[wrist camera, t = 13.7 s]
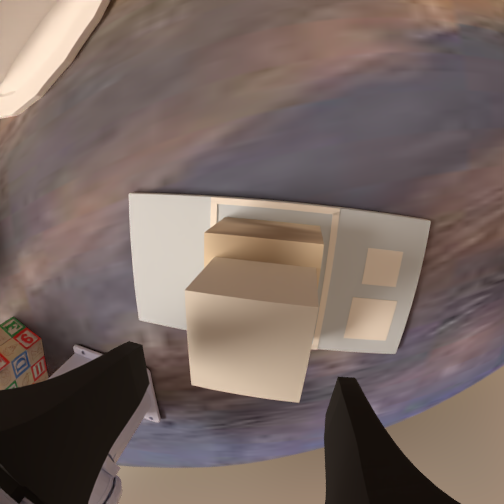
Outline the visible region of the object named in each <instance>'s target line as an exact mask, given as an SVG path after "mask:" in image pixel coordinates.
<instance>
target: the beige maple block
mask: <svg viewBox="0 0 504 504" xmlns="http://www.w3.org/2000/svg"><path fill="white" fill-rule="evenodd" d="M185 308H186V325H187V340H188V353H189V364H190V375H191V385H194V386H198V387H203V388H208V389H212V390H217V391H223V392H228V393H233V394H239V395H245V396H251V397H258V398H265V399H272V400H280V401H289V402H298V403H299V401H300V397H301V393H302V389H303V384H304V380H305V375H306V371H307V366H308V361H309V356H310V351H311V346H312V341H313V336H314V331H315V325H316V320H317V314H318V308H319V304H318V288H317V274H316V268H313V267H303V266H294V265H285V264H275V263H266V262H257V261H248V260H239V259H230V258H221V257H214V258H213V259H212V260H211V261H210V263H209V264H208V265H207V266H206V267H205V268H204V269H203V270H202V271H201V272H200V274H199V275H198V276H197V277H196V278H195V279H194V280H193V281H192V282H191V284H190V285H189V286H188V287H187V288H186V289H185Z"/></svg>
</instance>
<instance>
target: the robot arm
mask: <svg viewBox="0 0 504 504" xmlns="http://www.w3.org/2000/svg"><path fill="white" fill-rule="evenodd" d="M73 349H74V352H75V354H74V355H73V356H71V357H70V358H69V359H68V360H67V361H66V362H65V363H64V364H63V365H62V366H61V367H60V368H59V369H58V370H57V371H56V372H55V373H54V374H53V375H52V376H51V377H49V378H48V379H47V380H45V381H42V382H39V383H35V384H31V385H27V386H22V387H18V388H13V389H6V390H0V504H118V502H119V500H120V498H121V494H122V486H121V480H120V478H119V477H118V476H117V475H116V474H117V473H118V471H119V469H120V467H119V466H117V465H116V462H117V460H118V459H119V457H120V456H121V454H122V452H123V451H124V449H125V447H126V446H127V444H128V443H129V441H130V439H131V438H132V436H133V434H134V433H135V431H136V430H137V428H138V426H139V425H140V423H141V421H142V420H143V418H145V419H148V420H151V421H154V422H160V420H161V418H160V414H159V410H158V405H157V401H156V397H155V392H154V388H153V383H152V378H151V373H150V371H149V369H147V368H146V363H145V358H144V352H143V347H142V345H141V344H137V343H133V342H130V341H129V342H127V343H124V344H122V345H120V346H118V347H116V348H114V349H113V350H111V351H109V352H107V353H105V354H101V353H98V352H95V351H93V350H90V349H87V348H84V347H82V346H79V345H75V346H73ZM324 446H325V469H326V500H325V504H460V503H459V502H457V501H456V500H454V499H453V498H451V497H450V496H448V495H447V494H446V493H444V492H443V491H442V490H440V489H439V488H438V487H436V486H435V485H434V484H433V483H432V482H431V481H430V480H429V479H428V478H426V477H425V476H424V475H423V474H422V473H421V472H420V471H419V470H418V469H417V468H416V467H415V466H414V465H413V464H412V463H411V462H410V460H409V459H408V458H407V457H406V456H405V455H404V454H403V452H402V451H401V450H400V449H399V447H398V446H397V445H396V443H395V442H394V441H393V439H392V438H391V437H390V435H389V434H388V432H387V431H386V429H385V428H384V426H383V425H382V423H381V422H380V420H379V419H378V417H377V415H376V414H375V412H374V411H373V409H372V407H371V405H370V404H369V402H368V400H367V398H366V397H365V395H364V393H363V391H362V389H361V387H360V386H359V384H358V382H357V380H356V379H355V378H348V377H338V378H337V382H336V385H335V388H334V391H333V394H332V397H331V400H330V403H329V406H328V409H327V412H326V418H325V433H324Z"/></svg>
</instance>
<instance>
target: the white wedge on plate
mask: <svg viewBox="0 0 504 504" xmlns="http://www.w3.org/2000/svg"><path fill="white" fill-rule="evenodd" d="M110 1H111V0H0V119H1V118H6V117H12V116H17V115H20V114H21V113H22V112H23V111H25V110H26V109H27V108H28V107H30V106H31V105H32V104H34V103H35V102H36V101H38V100H39V99H40V98H42V97H43V96H44V95H45V93H46V92H47V91H48V90H49V88H50V87H51V86H52V85H53V84H54V82H55V81H56V80H57V79H58V78H59V77H60V75H61V74H62V73H63V72H64V71H65V70H66V69H67V67H68V66H69V65H70V64H71V63H72V62H73V60H74V59H75V57H76V55H77V54H78V52H79V51H80V49H81V48H82V46H83V45H84V43H85V42H86V40H87V39H88V37H89V36H90V34H91V33H92V31H93V30H94V29H95V27H96V26H97V25H98V23H99V22H100V21H101V19H102V17H103V14H104V12H105V10H106V8H107V6H108V4H109V3H110Z"/></svg>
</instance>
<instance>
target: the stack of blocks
mask: <svg viewBox="0 0 504 504" xmlns="http://www.w3.org/2000/svg"><path fill="white" fill-rule="evenodd" d="M48 378H49V377H48V373H47V367H46V362H45V357H44V351H43V345H42V339H41V338H40V337H39V336H37V335H36V334H35V333H33V332H32V331H31V330H30V329H28V328H27V327H25V326H24V325H23V324H22V323H20V322H19V321H18V320H17V319H16V318H14V317H12V318H10V319H8V320H7V321H5V322H4V323H2V324H1V325H0V390H6V389H13V388H18V387H22V386H27V385H31V384H35V383H39V382H42V381H45V380H47V379H48Z"/></svg>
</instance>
